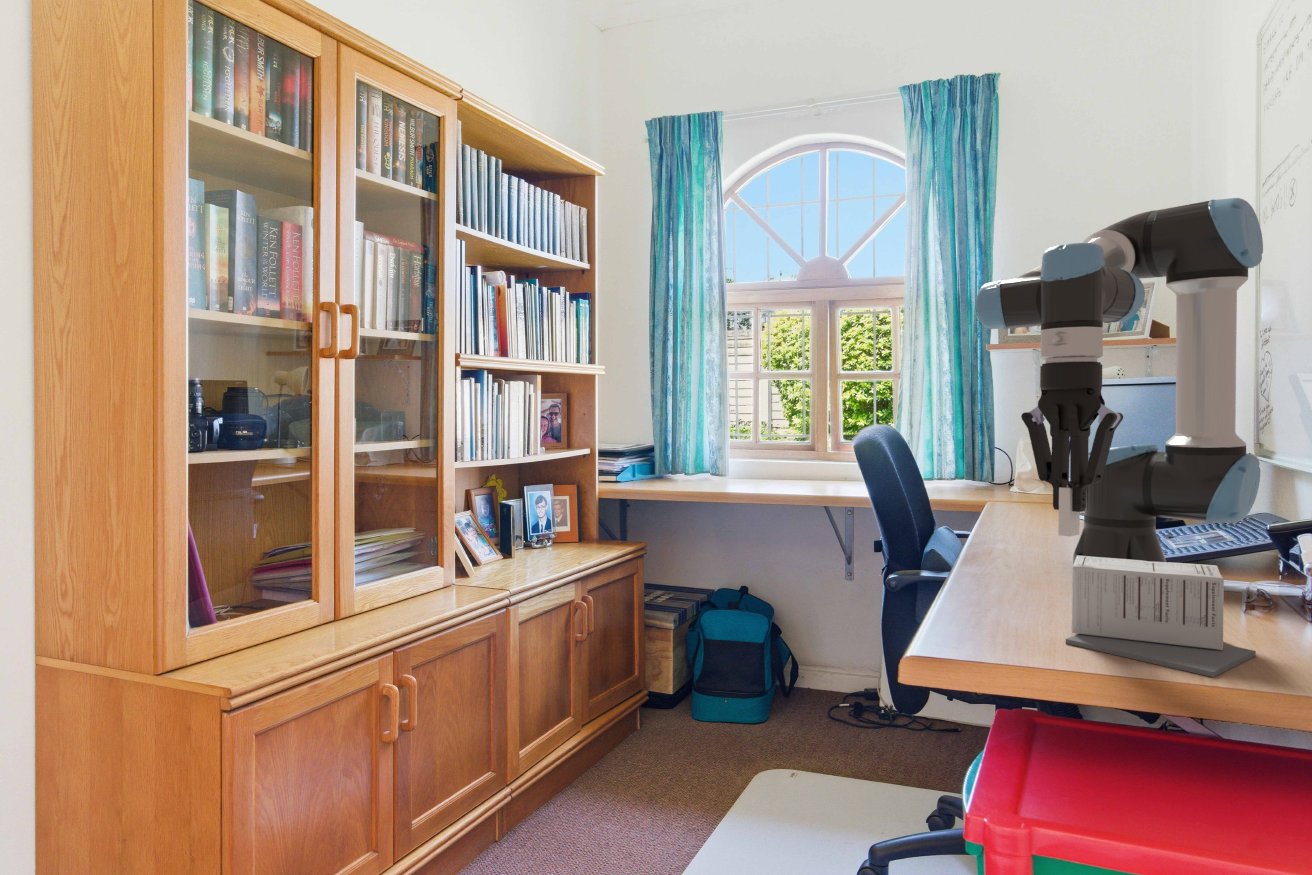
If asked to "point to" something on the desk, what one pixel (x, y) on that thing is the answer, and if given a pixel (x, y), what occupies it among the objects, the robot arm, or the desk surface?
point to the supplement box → (1148, 601)
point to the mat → (1168, 653)
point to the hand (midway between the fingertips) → (1068, 534)
